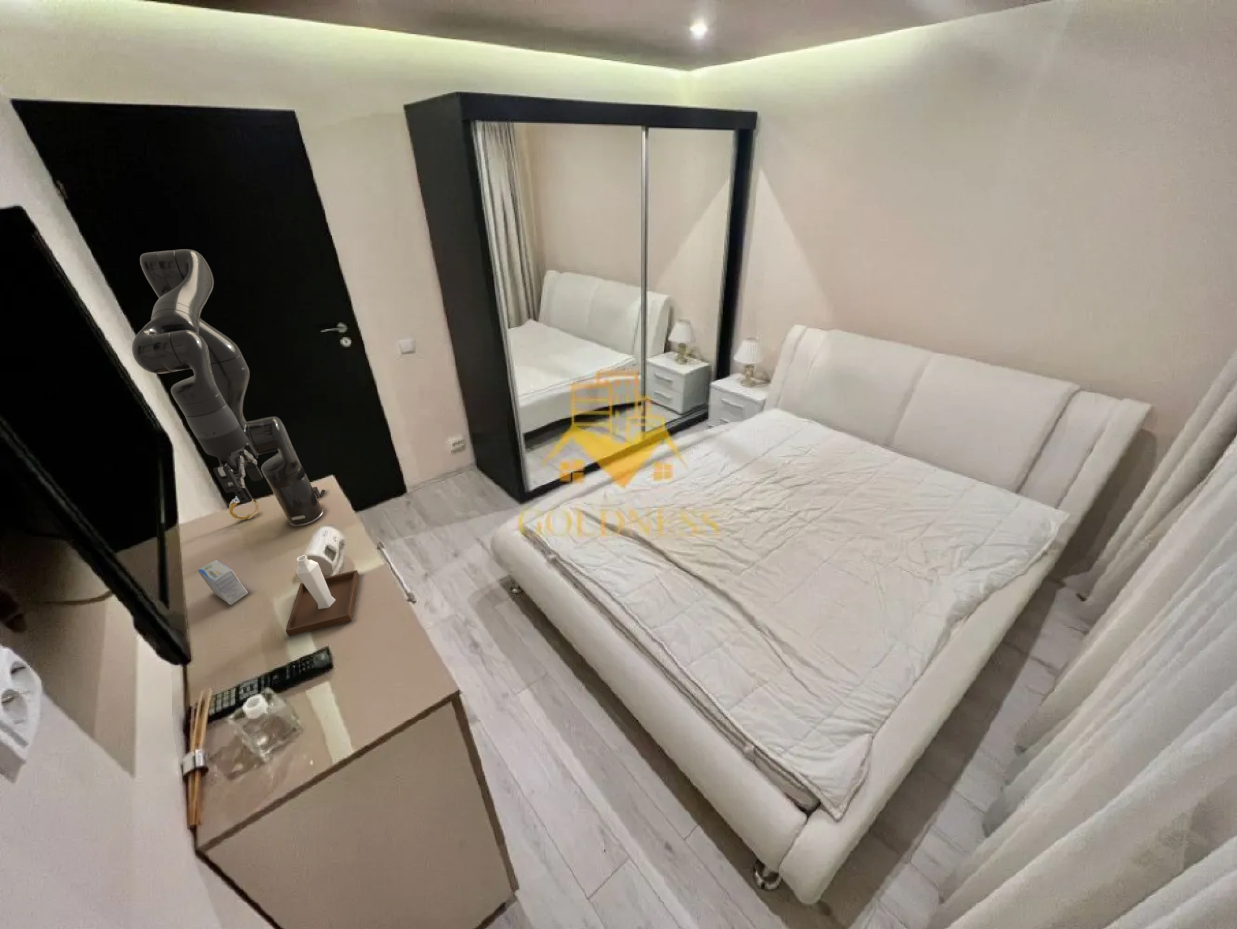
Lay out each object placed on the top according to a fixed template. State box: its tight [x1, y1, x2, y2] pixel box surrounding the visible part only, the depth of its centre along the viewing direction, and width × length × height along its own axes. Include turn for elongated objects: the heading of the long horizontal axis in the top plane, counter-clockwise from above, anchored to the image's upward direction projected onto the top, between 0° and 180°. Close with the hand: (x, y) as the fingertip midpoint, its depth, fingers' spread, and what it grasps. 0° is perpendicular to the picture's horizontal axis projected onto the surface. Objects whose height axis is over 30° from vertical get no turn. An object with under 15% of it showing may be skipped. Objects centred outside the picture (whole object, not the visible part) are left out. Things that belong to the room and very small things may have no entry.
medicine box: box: [197, 559, 249, 606], centre depth 118 cm, size 8×4×9 cm, turn 59°
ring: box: [228, 495, 259, 520], centre depth 144 cm, size 7×3×8 cm, turn 125°
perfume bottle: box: [295, 554, 335, 609], centre depth 112 cm, size 5×4×15 cm
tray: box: [284, 569, 360, 638], centre depth 116 cm, size 15×13×2 cm
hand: (252, 490), depth 108 cm, fingers open, 8 cm apart
